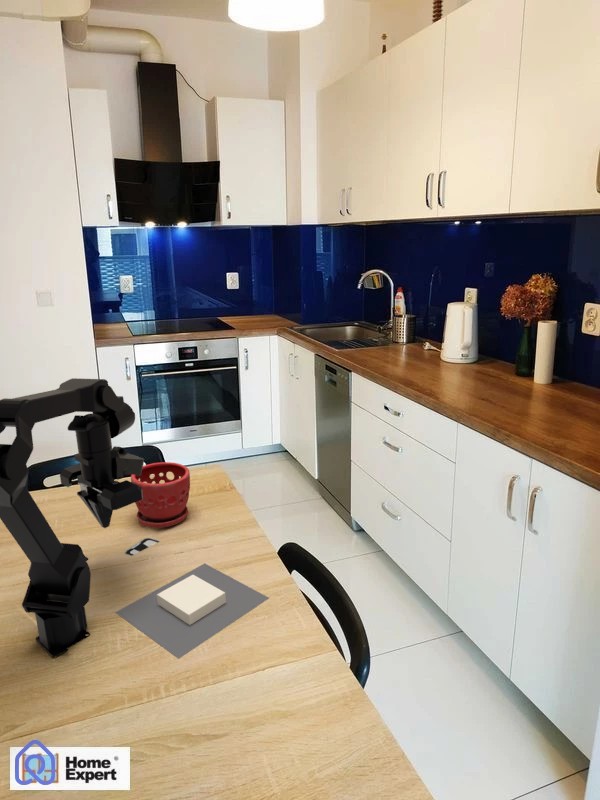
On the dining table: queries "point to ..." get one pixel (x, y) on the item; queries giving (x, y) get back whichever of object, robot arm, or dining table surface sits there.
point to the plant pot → (163, 494)
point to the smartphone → (141, 546)
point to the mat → (187, 637)
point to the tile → (191, 599)
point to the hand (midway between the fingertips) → (105, 526)
